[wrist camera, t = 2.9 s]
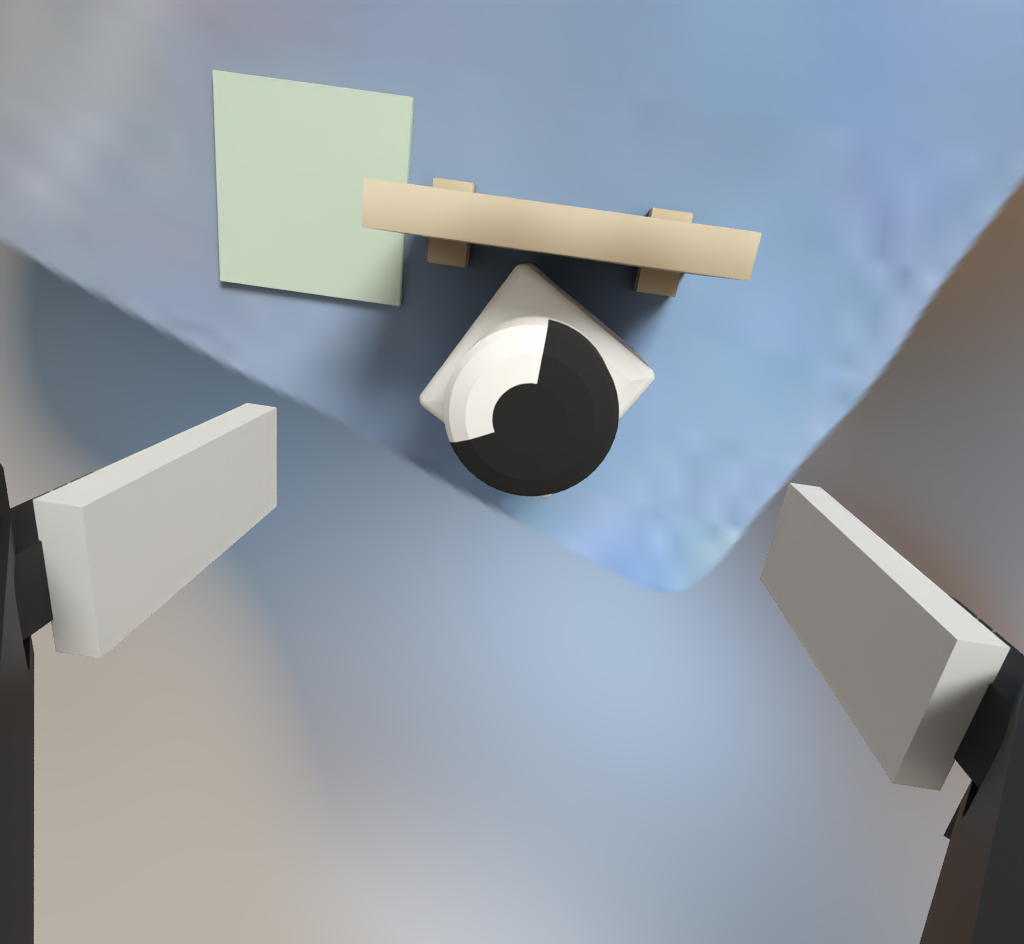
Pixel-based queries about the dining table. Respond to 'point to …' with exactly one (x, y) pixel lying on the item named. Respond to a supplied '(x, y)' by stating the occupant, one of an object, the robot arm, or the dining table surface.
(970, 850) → the robot arm
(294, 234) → the mat
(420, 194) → the screen
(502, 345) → the container
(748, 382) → the dining table surface
